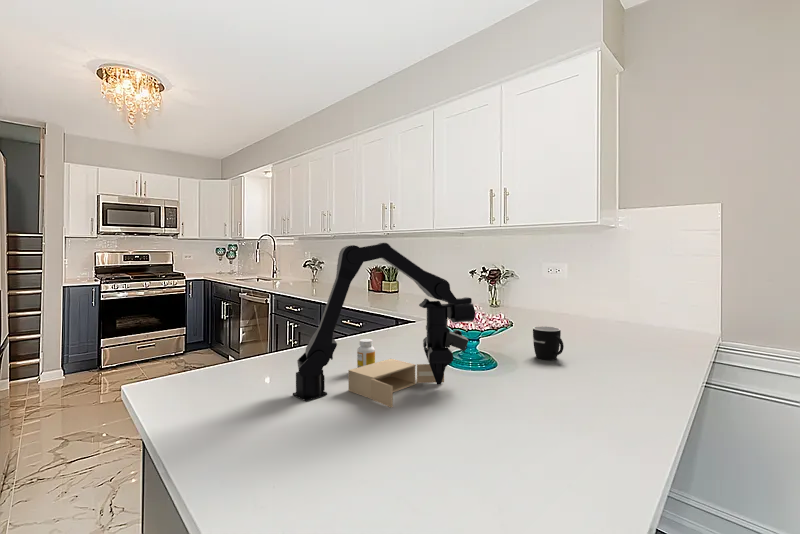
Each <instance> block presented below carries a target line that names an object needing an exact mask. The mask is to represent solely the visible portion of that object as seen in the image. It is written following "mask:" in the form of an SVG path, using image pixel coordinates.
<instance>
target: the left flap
mask: <svg viewBox="0 0 800 534" xmlns="http://www.w3.org/2000/svg"><path fill="white" fill-rule="evenodd" d="M393 393H394V392H393V386H391V385H389V384H386V383H383V382H380V381H378V380H375V379H371V398H370V400H371V401H375V402H377V403H380V404H382V405H384V406H387V407H389V408H393V407H394V405H393V403H394V402H393V401H394V399H393V397H394V394H393Z"/></svg>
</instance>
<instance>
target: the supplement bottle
mask: <svg viewBox="0 0 800 534" xmlns="http://www.w3.org/2000/svg"><path fill="white" fill-rule="evenodd" d="M373 343H374V342H373V339H370V338H362V339H359V343H358V344H359V346H358V347H357V350H356V355H357V356H356V357H357V358H356V360H357V365H356V368H358V367H362V366H366V365H369V364H373V363H376V349H375V347H374V346H373Z"/></svg>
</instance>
